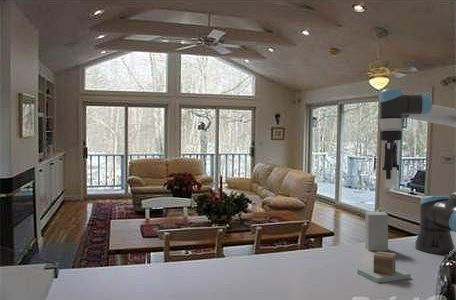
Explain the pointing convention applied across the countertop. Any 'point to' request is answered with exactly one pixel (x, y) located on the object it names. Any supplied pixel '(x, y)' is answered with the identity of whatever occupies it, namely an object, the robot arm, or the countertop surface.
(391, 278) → the pale green flat panel
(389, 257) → the cardboard shipping box
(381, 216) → the skincare box
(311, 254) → the countertop surface
